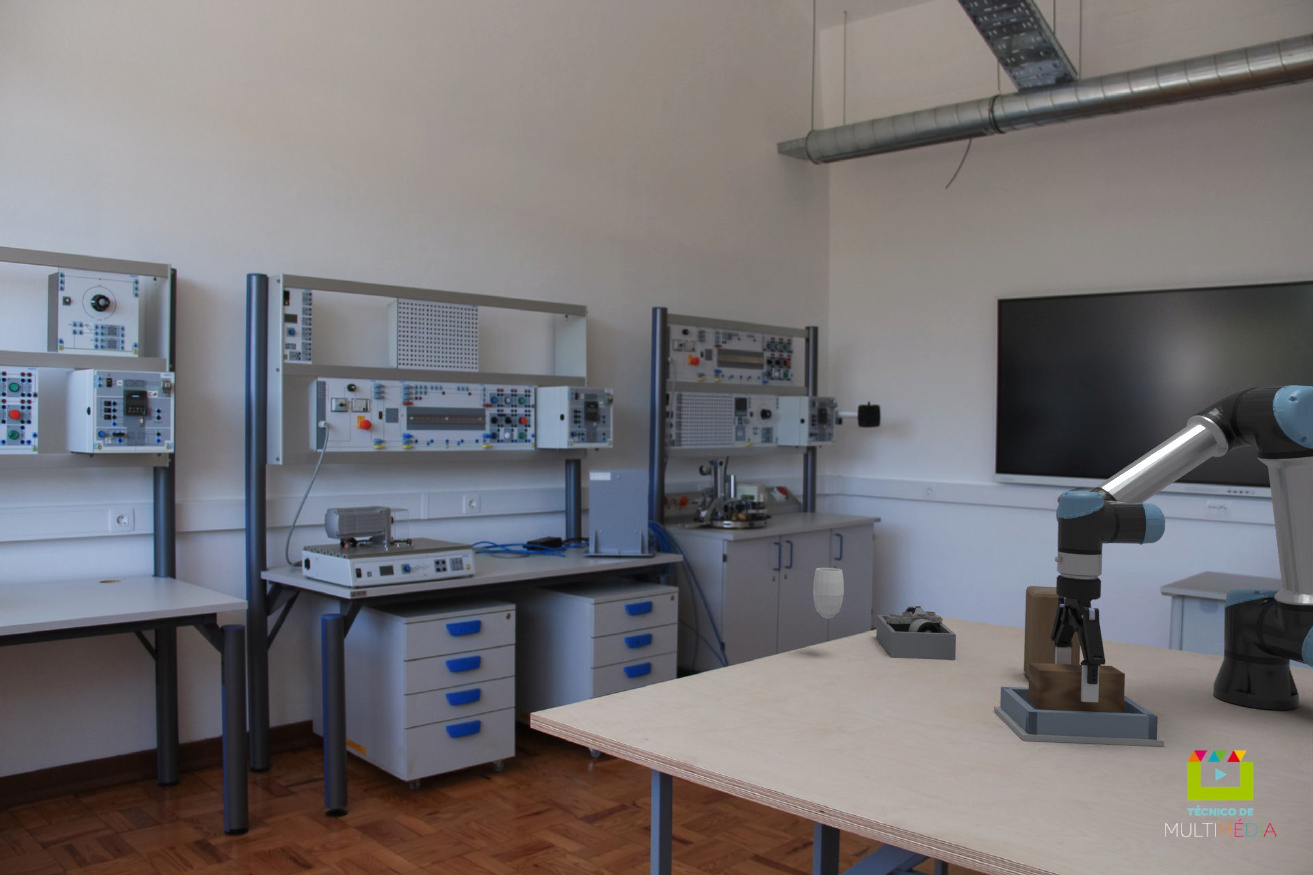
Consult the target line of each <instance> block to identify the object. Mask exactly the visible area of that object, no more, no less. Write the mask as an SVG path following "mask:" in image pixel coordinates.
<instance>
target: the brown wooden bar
mask: <svg viewBox="0 0 1313 875" xmlns="http://www.w3.org/2000/svg"><path fill="white" fill-rule="evenodd" d="M1081 682H1082V665H1081V664H1080V665H1075V664H1048V663H1029V679H1028V688H1029V692H1028V700H1029V701H1030V702H1031V703H1032V704H1033V705H1035V706H1036V707H1037V708H1038V709H1046V710H1071V711H1096V712H1121V713H1124V695H1125V689H1126V688H1125V685H1126V683H1125V682H1126V673H1124V672H1123V671H1121V670H1120V669H1118V668H1116V667H1114V666H1113V665H1101V666H1099V693H1098V702H1082V701H1081Z"/></svg>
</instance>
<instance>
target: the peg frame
mask: <svg viewBox="0 0 1313 875" xmlns="http://www.w3.org/2000/svg"><path fill="white" fill-rule="evenodd" d="M1028 692H1029V687H1026V686H1025V687H1024V686H1023V687H1021V686H1019V687H1018V686H1000V702H999V703H1000V704H999V705H1000V706H999V705H996V706H993V708H994V709H993V712H994V713H995V714H996V715H997V716H998V717H999V718H1000V719H1001V720H1002V721H1003V722H1004V723H1005V724H1006V725H1007V726H1008V727H1009V728H1010V729H1011V730H1012V731H1013V732H1014V733H1015V734H1016V735H1017V736H1018V737H1019V738H1020V739H1021V740H1022V741H1024V742H1025V741H1026V742H1028V741H1029V742H1046V743H1048V742H1049V743H1070V744H1072V743H1073V744H1093V745H1094V744H1095V745H1115V746H1116V745H1117V746H1119V745H1120V746H1138V747H1139V746H1140V747H1141V746H1142V747H1165V740H1164V739H1162V738H1161V737H1159V736H1158V722H1159V721H1158V719H1159V717H1158V716H1157V715H1155V714H1154V713H1153V712H1151V711H1149V710H1148V709H1146V708H1145V707H1144V706H1142V705H1141V704H1139V703H1137V702H1136V701H1134V700H1133V699H1131V698H1129V697H1128V696H1127V695H1125V694H1124V713H1121V712H1096V711H1071V710H1046V709H1038V708H1037V707H1036V706H1035V705H1033V704H1032V703H1031V702H1030V701H1029V700H1028Z"/></svg>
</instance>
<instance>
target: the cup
mask: <svg viewBox="0 0 1313 875" xmlns="http://www.w3.org/2000/svg"><path fill="white" fill-rule="evenodd" d="M812 586H813V587H812V596H813V604H814V607H815V610H816V612H817V613H819V615H820V616H821V618H824V619H826V620H830V619H832V618H835V616H836V615H837V614H839V613H840V611H841V608H842V606H843V601H844V594H845V581H844V573H843V570H842V569H841V568H836V567H835V568H834V567H817V568H815V571H814V577H813V585H812Z"/></svg>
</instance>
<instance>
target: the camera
mask: <svg viewBox="0 0 1313 875" xmlns="http://www.w3.org/2000/svg"><path fill="white" fill-rule="evenodd" d="M943 621H944V618H942V616H941V615H938V614H936V612H934V611H930V610H929V611H925V610H924V609H923V608H922V607H921V605H917V606H913V605H911V606H907V608H906V610H905V611H904V612H901V613H898V614H891V613H890V614H889V616H887V622H886V623H887V624H888V625H890V626H891V627H892V628H893V629H894V630H895V632H921V633H940V631H939V624H941V623H943Z"/></svg>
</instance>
